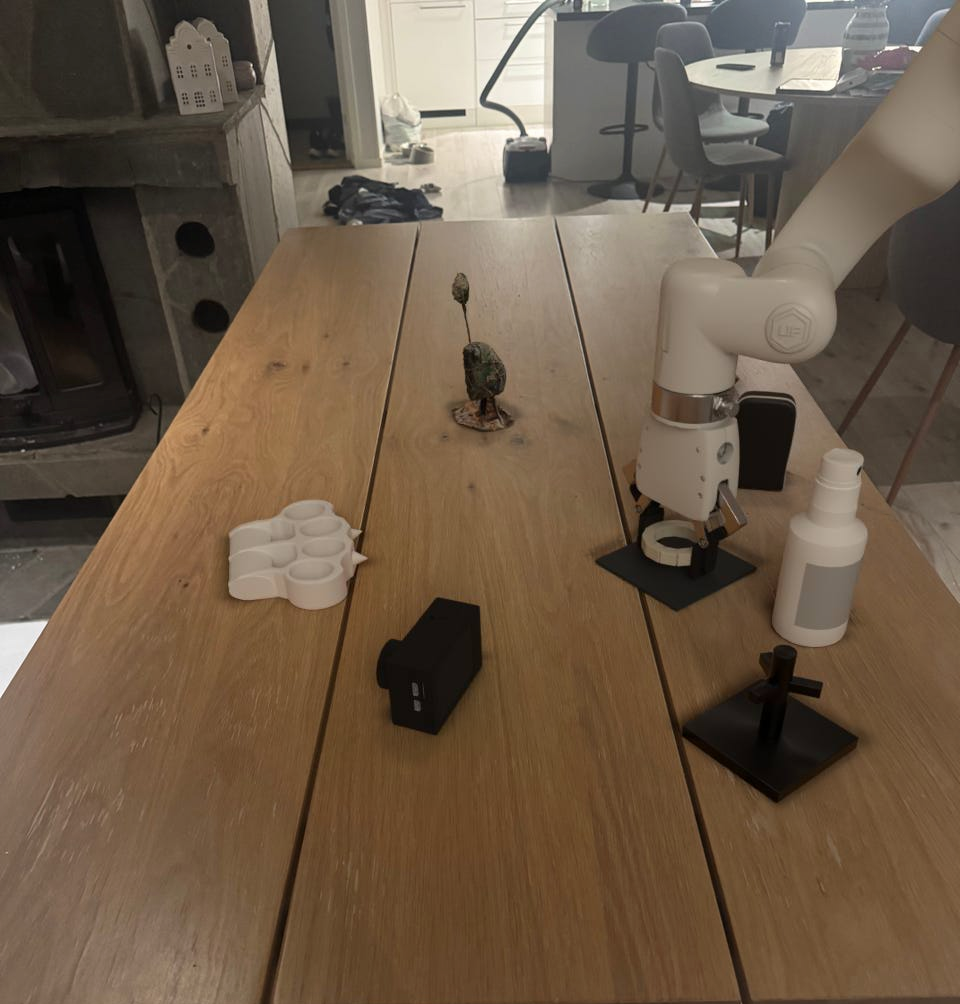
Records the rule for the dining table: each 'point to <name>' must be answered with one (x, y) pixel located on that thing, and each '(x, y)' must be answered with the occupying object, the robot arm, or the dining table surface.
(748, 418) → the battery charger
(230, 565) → the white brass knuckles
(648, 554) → the ring
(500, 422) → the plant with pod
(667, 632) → the dining table surface
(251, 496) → the dining table surface
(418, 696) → the digital camera
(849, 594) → the spray bottle
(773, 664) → the rack
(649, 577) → the mat
